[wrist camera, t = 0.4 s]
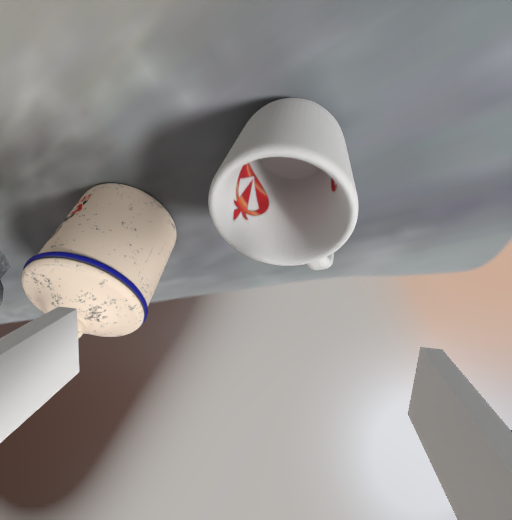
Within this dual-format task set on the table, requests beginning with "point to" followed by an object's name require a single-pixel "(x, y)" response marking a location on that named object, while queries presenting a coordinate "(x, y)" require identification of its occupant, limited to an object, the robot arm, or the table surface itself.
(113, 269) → the teacup with lid
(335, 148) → the cup
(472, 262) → the table surface
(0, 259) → the mortar and pestle
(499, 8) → the table surface
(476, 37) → the table surface
